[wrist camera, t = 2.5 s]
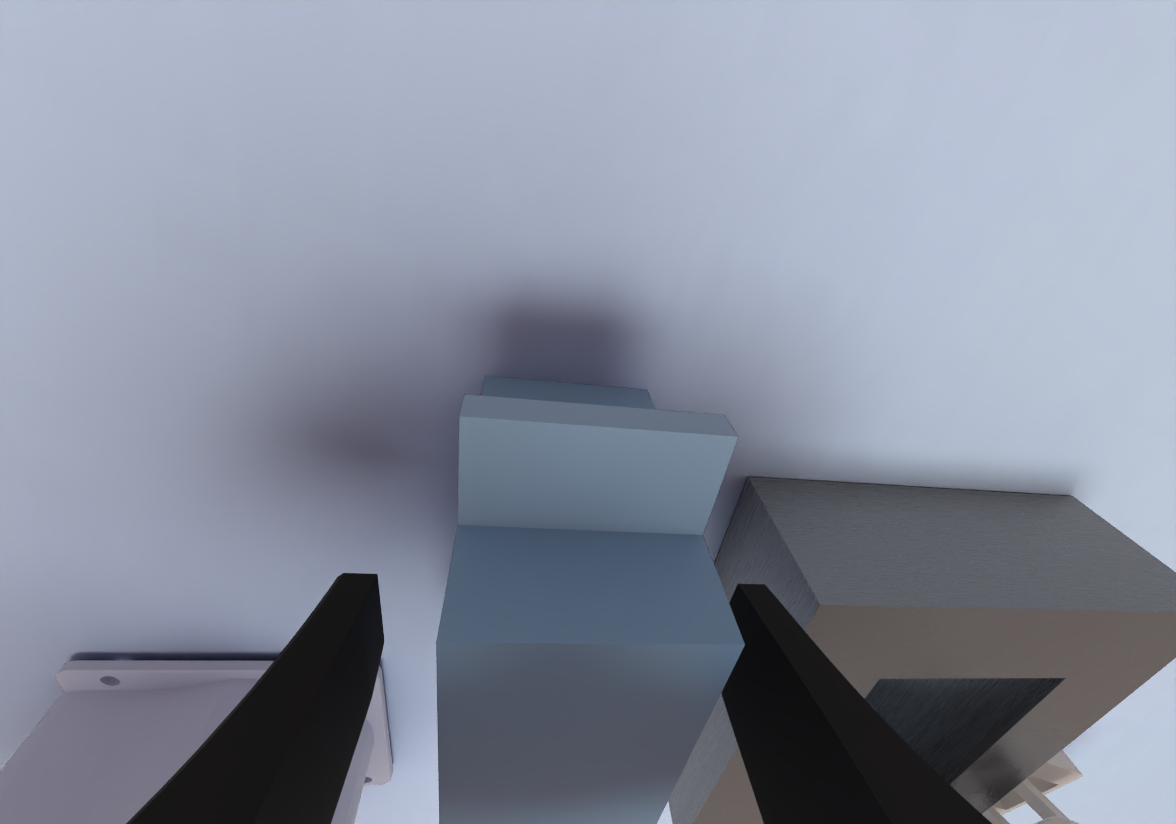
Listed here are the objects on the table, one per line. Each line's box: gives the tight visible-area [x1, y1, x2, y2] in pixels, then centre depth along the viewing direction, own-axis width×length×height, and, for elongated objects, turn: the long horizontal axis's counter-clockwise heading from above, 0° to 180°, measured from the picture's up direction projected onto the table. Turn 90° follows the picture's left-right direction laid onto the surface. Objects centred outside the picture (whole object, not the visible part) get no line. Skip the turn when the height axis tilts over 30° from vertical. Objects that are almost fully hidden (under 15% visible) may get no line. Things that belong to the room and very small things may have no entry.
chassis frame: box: [668, 477, 1176, 824], centre depth 17 cm, size 11×13×4 cm
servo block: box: [436, 376, 745, 824], centre depth 11 cm, size 4×10×7 cm, turn 172°
